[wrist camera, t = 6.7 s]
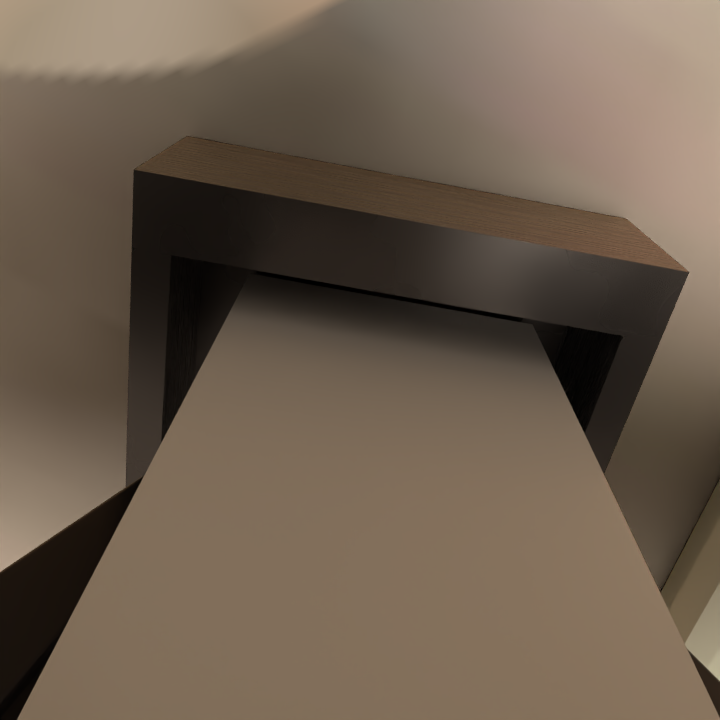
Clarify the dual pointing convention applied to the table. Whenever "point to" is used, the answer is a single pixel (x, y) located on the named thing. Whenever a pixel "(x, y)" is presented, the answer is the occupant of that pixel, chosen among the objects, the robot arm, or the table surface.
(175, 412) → the strip
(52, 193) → the table surface
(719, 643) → the tray
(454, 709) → the plug
